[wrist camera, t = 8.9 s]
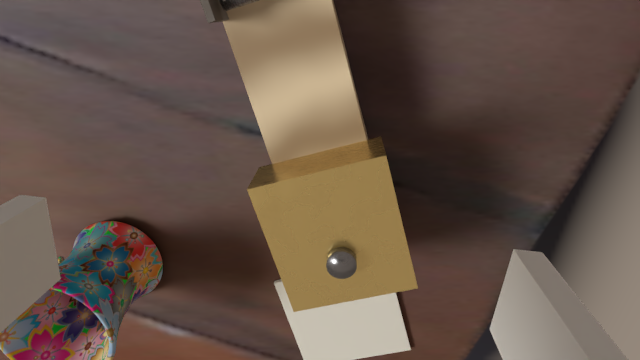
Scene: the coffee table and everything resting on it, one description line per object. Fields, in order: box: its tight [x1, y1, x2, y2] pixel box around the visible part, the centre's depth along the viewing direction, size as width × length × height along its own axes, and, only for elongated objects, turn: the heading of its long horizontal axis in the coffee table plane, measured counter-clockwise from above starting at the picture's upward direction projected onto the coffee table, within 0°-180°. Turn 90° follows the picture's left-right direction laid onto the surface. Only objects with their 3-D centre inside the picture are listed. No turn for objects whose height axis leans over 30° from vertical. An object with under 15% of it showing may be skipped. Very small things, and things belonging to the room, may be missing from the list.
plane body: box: [200, 0, 368, 164], centre depth 30 cm, size 24×7×8 cm, turn 16°
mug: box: [0, 221, 163, 360], centre depth 35 cm, size 12×9×11 cm
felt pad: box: [274, 279, 411, 360], centre depth 41 cm, size 11×11×1 cm
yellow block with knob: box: [247, 137, 418, 312], centre depth 29 cm, size 10×9×5 cm
